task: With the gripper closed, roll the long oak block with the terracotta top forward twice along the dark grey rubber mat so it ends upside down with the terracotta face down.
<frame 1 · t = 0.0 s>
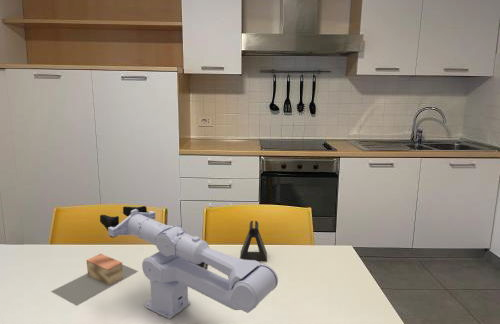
hand: (112, 214, 106), 22 cm above the table, tool horizontal, fingers open, 7 cm apart
rubber mat: (96, 281, 112), on the table
phone: (196, 263, 124), on the table
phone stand: (253, 257, 128), on the table
oak block: (105, 276, 114), resting on rubber mat
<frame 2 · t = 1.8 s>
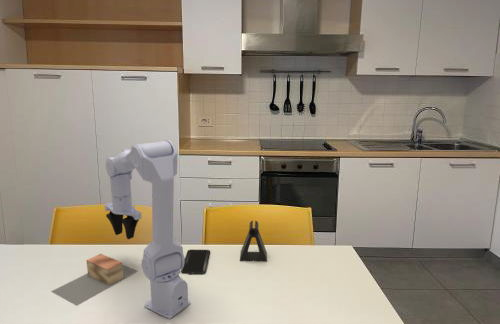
hand: (124, 235, 118), 10 cm above the table, tool pointing down, fingers open, 5 cm apart
nothing on the table moved.
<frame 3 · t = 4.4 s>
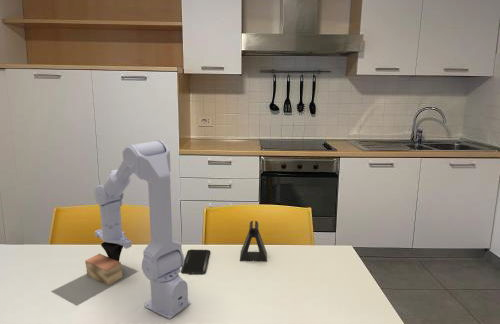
hand: (114, 263, 117), 3 cm above the table, tool pointing down, fingers closed, pressing on oak block
oak block: (104, 276, 114), resting on rubber mat, touching gripper
everything else where it was.
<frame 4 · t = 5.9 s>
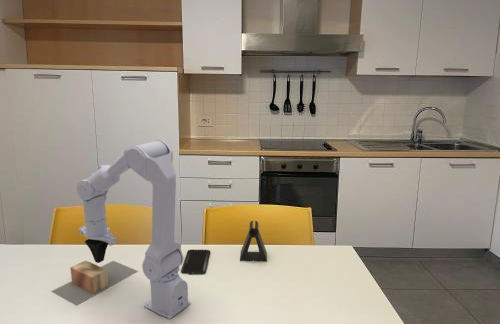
hand: (99, 261, 112), 6 cm above the table, tool pointing down, fingers closed
oak block: (96, 272, 111), point 3 cm above the table, tilted 90°, touching rubber mat
everything else where it was.
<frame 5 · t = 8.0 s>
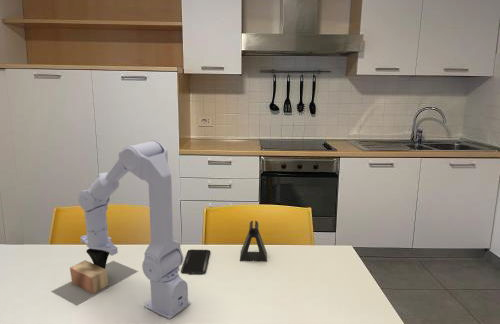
hand: (100, 270, 113), 3 cm above the table, tool pointing down, fingers closed, pressing on oak block
oak block: (96, 272, 111), point 3 cm above the table, tilted 92°, touching gripper, rubber mat
everything else where it was.
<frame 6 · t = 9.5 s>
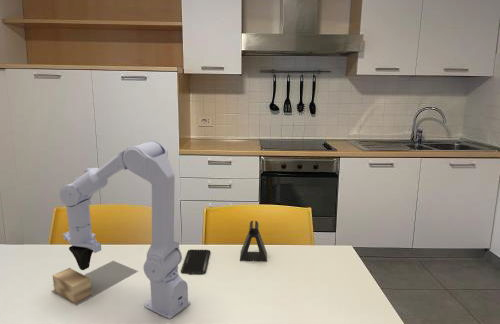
hand: (84, 268, 108), 6 cm above the table, tool pointing down, fingers closed
oak block: (71, 276, 105), point 5 cm above the table, tilted 180°, touching rubber mat
everything else where it was.
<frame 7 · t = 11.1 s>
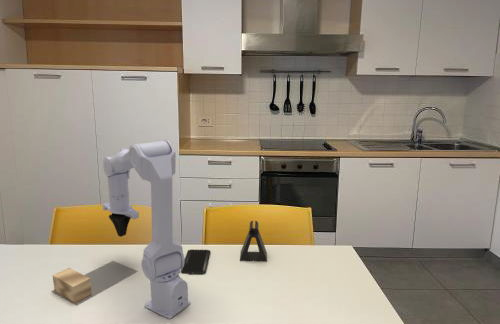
hand: (122, 235, 119), 10 cm above the table, tool pointing down, fingers closed
nothing on the table moved.
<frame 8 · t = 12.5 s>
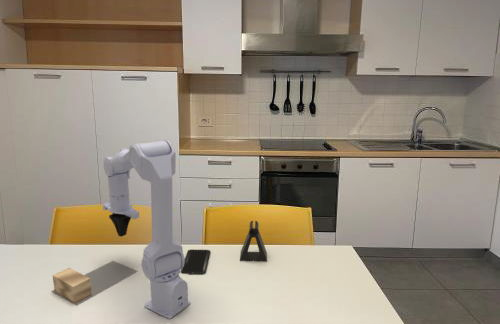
hand: (122, 235, 119), 10 cm above the table, tool pointing down, fingers closed
nothing on the table moved.
at the end: oak block tilted 180°; oak block inside the target area (0.3 cm from its centre), point 5.2 cm above the table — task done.
